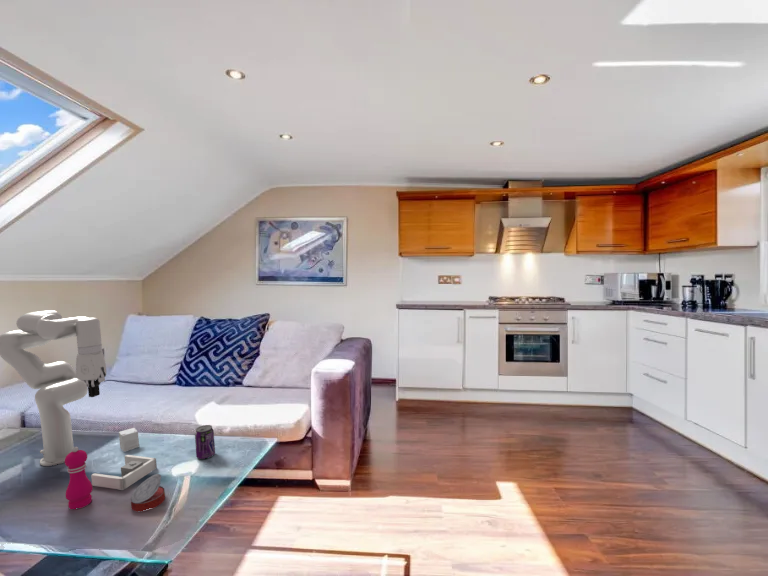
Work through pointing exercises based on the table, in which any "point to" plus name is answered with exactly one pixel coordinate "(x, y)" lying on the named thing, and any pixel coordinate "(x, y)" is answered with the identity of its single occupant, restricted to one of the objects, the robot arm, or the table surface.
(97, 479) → the box
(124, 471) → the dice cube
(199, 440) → the beverage can
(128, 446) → the skincare box
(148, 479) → the canned food
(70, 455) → the pepper mill
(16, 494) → the table surface
